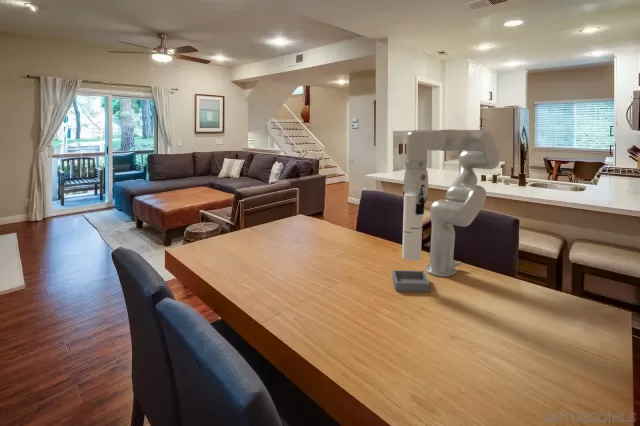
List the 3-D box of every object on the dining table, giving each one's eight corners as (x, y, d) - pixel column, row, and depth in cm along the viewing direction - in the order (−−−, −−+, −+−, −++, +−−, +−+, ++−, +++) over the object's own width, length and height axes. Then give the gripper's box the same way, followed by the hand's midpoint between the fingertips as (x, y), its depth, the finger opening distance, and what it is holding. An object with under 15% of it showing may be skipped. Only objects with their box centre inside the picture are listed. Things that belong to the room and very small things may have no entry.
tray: (423, 278, 150) (423, 271, 149) (429, 292, 138) (429, 283, 137) (392, 278, 151) (392, 270, 150) (395, 291, 139) (396, 282, 138)
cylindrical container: (421, 260, 137) (424, 196, 132) (402, 259, 139) (404, 195, 133) (420, 254, 144) (423, 192, 138) (401, 253, 145) (403, 192, 140)
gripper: (439, 167, 126) (436, 216, 130) (411, 162, 142) (409, 206, 147) (420, 168, 124) (418, 218, 128) (394, 163, 140) (393, 208, 144)
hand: (413, 211), depth 137 cm, fingers closed on cylindrical container, 7 cm apart
